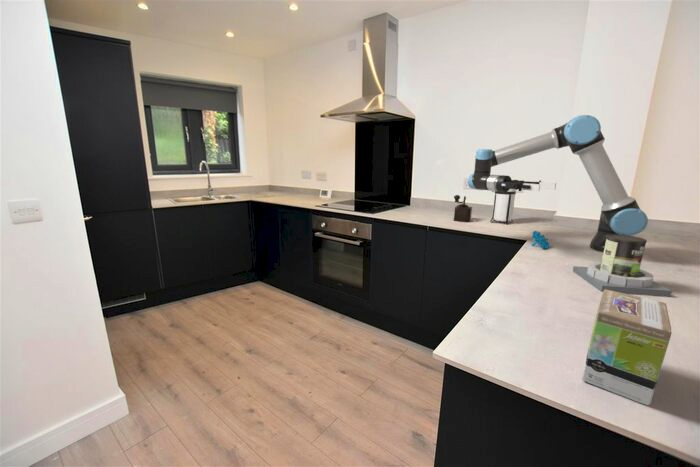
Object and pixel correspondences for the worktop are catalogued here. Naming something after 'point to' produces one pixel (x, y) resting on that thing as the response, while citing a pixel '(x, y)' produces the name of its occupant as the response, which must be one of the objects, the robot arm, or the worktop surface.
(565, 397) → the worktop surface
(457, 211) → the manual coffee grinder
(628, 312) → the tea box
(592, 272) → the housing
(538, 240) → the gear
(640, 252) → the coffee can
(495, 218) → the coffee press
